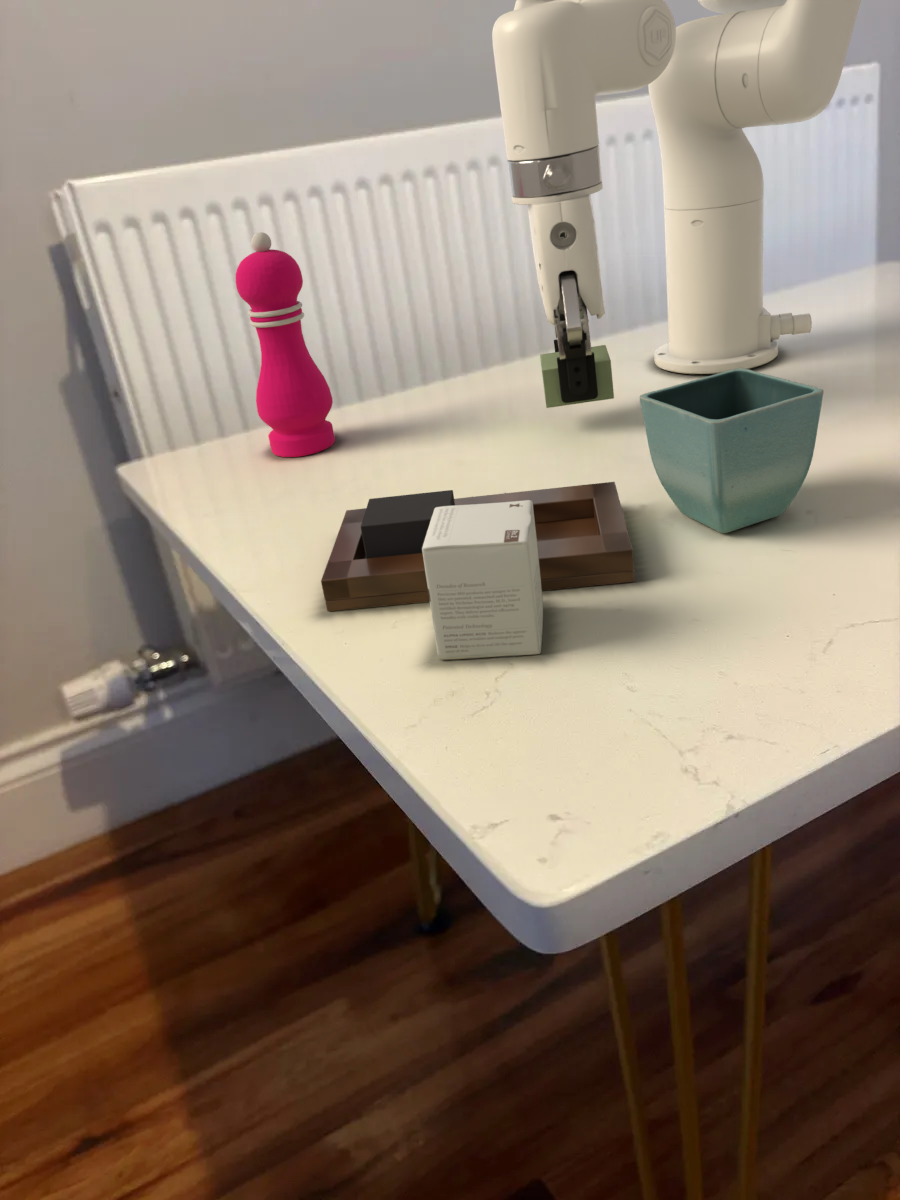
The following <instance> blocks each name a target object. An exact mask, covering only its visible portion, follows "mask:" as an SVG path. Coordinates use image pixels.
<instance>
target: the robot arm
mask: <svg viewBox="0 0 900 1200" xmlns="http://www.w3.org/2000/svg"><path fill="white" fill-rule="evenodd" d="M861 1H862V0H697V2H698V3H699V5H700V6H701V7H703V8H704V9H706V10H708V11H710V12H713V13H717V14H716V15H709V16H705V17H699V18H696V19H692V20H689V21H686V22H684V23H681V24H679V25H678V26H676V23H675V19H674V15H673V12H672V10H671V9H670V7H669V5H668V4H667V2H666V1H665V0H515V2H514V3H515V4H514V7H513V10H510V11H508V12H504V13H503V14H501V15H499V16H498V17H497V19H496V20H495V22H494V24H493V26H492V32H491V39H492V42H491V43H492V51H493V59H494V67H495V75H496V83H497V89H498V90H497V91H498V99H499V100H498V101H499V106H500V115H501V123H502V131H503V138H504V139H503V140H504V147H505V155H506V165H507V171H508V178H509V187H510V194H511V203H512V204H514V205H518V206H520V205H521V206H527V213H528V222H529V230H530V237H531V245H532V246H531V247H532V250H533V259H534V265H535V270H536V272H535V273H536V276H537V282H538V287H539V291H540V297H541V300H542V304H543V308H544V312H545V315H546V319H547V322H548V323H549V324H551V326H552V325H553V326H554V334H555V339H553V346H554V352H559V356H560V357H557V365H558V374H559V382H560V391H561V399H562V401H563V402H564V403H570V402H577V401H584V400H591V399H595V398H597V396H598V389H597V378H596V368H595V357H594V352H592V351H591V347H592V342H591V334H590V333H591V332H590V326H589V322H590V320H589V315H590V316H591V317H592V316H596V319H598V320H600V319H602V318H603V317H604V315H605V314H606V310H605V304H604V303H605V302H604V295H603V285H602V277H601V268H600V255H599V245H598V236H597V227H596V221H595V212H594V207H593V201H592V196H591V195H593V194H595V193H598V192H600V191H602V190H603V188H604V185H603V175H602V163H601V162H602V161H601V151H600V150H601V149H600V139H599V127H598V115H597V103H596V96H606V95H607V96H608V95H614V94H615V95H616V94H622V93H629V92H630V93H631V92H634V91H637V90H641V89H642V88H645V87H646V86H647V87H648V95H649V99H650V106H651V110H652V115H653V118H654V124H655V127H656V132H657V139H658V144H659V151H660V162H661V171H662V172H661V173H662V193H663V216H664V219H663V220H664V245H665V246H664V247H665V272H666V275H665V276H666V296H667V297H666V298H667V300H666V301H667V325H668V326H667V327H668V328H667V329H668V330H667V331H668V342H666V343H664V344H661V345H660V346H659V347H657V348H656V350H655V351H654V353H653V354H654V355H653V358H654V360H653V361H654V363H655V365H656V366H657V367H658V368H659V369H662V370H664V371H667V372H671V373H676V374H677V373H678V374H687V375H715V374H718V373H722V372H726V371H730V370H733V369H738V368H743V369H749V370H751V369H753V368H757V367H760V366H763V365H765V364H768V363H770V362H771V361H773V360H774V359H775V358H776V357H777V356H778V354H779V342H778V341H777V340H779V339H780V336H783V335H801V334H809V333H811V332H812V327H813V326H812V324H813V322H812V316H811V314H810V313H800V314H793V313H792V312H786V313H779V314H778V313H777V314H771V313H770V312H769V311H768V310H767V309H766V308H765V307H764V197H765V196H764V192H765V190H764V174H763V173H764V172H763V168H762V165H761V162H760V160H759V157H758V154H757V153H756V151H755V149H754V147H753V145H752V143H751V142H750V140H749V139H748V137H747V135H746V134H745V132H744V130H743V129H746V128H756V127H757V128H758V127H769V126H770V127H771V126H781V125H787V124H788V125H789V124H796V123H802V122H806V121H809V120H811V119H814V118H815V117H817V116H818V115H820V114H821V113H822V112H823V111H824V110H825V109H826V108H827V106H828V105H829V104H830V103H831V102H832V99H833V97H834V95H835V93H836V91H837V88H838V85H839V82H840V80H841V77H842V73H843V72H842V71H843V69H844V65H845V62H846V57H847V54H848V51H849V47H850V42H851V40H852V36H853V31H854V27H855V24H856V20H857V16H858V13H859V9H860V5H861ZM588 313H589V315H588Z"/></svg>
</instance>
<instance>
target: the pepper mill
mask: <svg viewBox="0 0 900 1200" xmlns="http://www.w3.org/2000/svg"><path fill="white" fill-rule="evenodd" d="M250 243H251V247H252V249H253V250H254V251H255V252H252V253H250V254H248V255H246V256H245V257H244V258H243V259H241V261H240V262H239V264H238V265H237V268H236V272H235V287H236V291H237V293H238V295H239V296H240V298H241V299H242V300H243V301H244V302H245V303H246V304H248V306H249V307H250V309H249V310H248V311H247V315H248V317H249V319H250V321H249V325H250V326H251V327H252V328H255V331H256V334H257V337H258V340H259V347H260V370H259V375H258V381H257V386H256V394H255V395H256V396H255V403H256V411H257V415H258V417H259V419H260V420H261V421H262V422H263V423H264V424H266V425H267V426H268V427H269V428H271V429H272V430H271V431H270V432H269V434H268V442H269V446H270V450H271V453H272V454H273V455H275V456H277V457H281V458H298V457H306V456H311V455H313V454H317V453H320V452H322V451H325V450H327V449H328V448H331V447H332V446H333V445H334V444H335V442H336V437H335V431H334V427H333V423H332V422H330V421H329V420H327V419H326V418H327V417H328V416H329V413H330V412H331V410H332V406H333V403H334V402H333V401H334V400H333V396H332V392H331V388H330V386H329V384H328V382H327V380H326V378H325V376H324V374H323V373H322V372H321V370H320V369H319V367H318V365H317V363H316V362H315V361H314V359H313V357H312V356H311V354H310V351H309V350H308V347H307V345H306V342H305V338H304V335H303V330H302V329H303V328H302V320H303V318H304V317H305V313H304V311H303V308H302V307H303V302H301V301H300V300H298V296H299V294H300V292H301V291H302V288H303V284H304V279H303V275H302V270H301V267H300V266H299V263H298V262H297V260H296V259H295V258H294V257H293V256H292V255H290V254H289V253H287V252H285V251H283V250H279V249H274V248H273V249H271V248H272V238H271V237H270V236H269V235H268V234H267V233H266V232H263V231H259V232H256V233H255V234H253V235H252V237H251V240H250Z"/></svg>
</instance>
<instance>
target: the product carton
mask: <svg viewBox="0 0 900 1200" xmlns="http://www.w3.org/2000/svg"><path fill="white" fill-rule="evenodd" d="M422 553H423V559H424V566H425V573H426V579H427V586H428V593H429V601H430V602H429V607H430V613H431V620H432V627H433V632H434V639H435V647H436V652H437V657H438V659H440V660H448V661H449V660H465V659H480V658H481V659H482V658H498V657H500V658H501V657H516V656H531V655H539V654H541V652H542V642H543V627H544V622H543V621H544V600H543V591H542V589H541V577H540V567H539V558H538V548H537V538H536V529H535V520H534V510H533V502H532V501H531V500H525V501H513V502H501V503H487V504H471V505H454V506H442V507H436V508H435V509H434V512H433V515H432V518H431V521H430V524H429V527H428V530H427V534H426V537H425V540H424V544H423V547H422Z"/></svg>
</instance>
